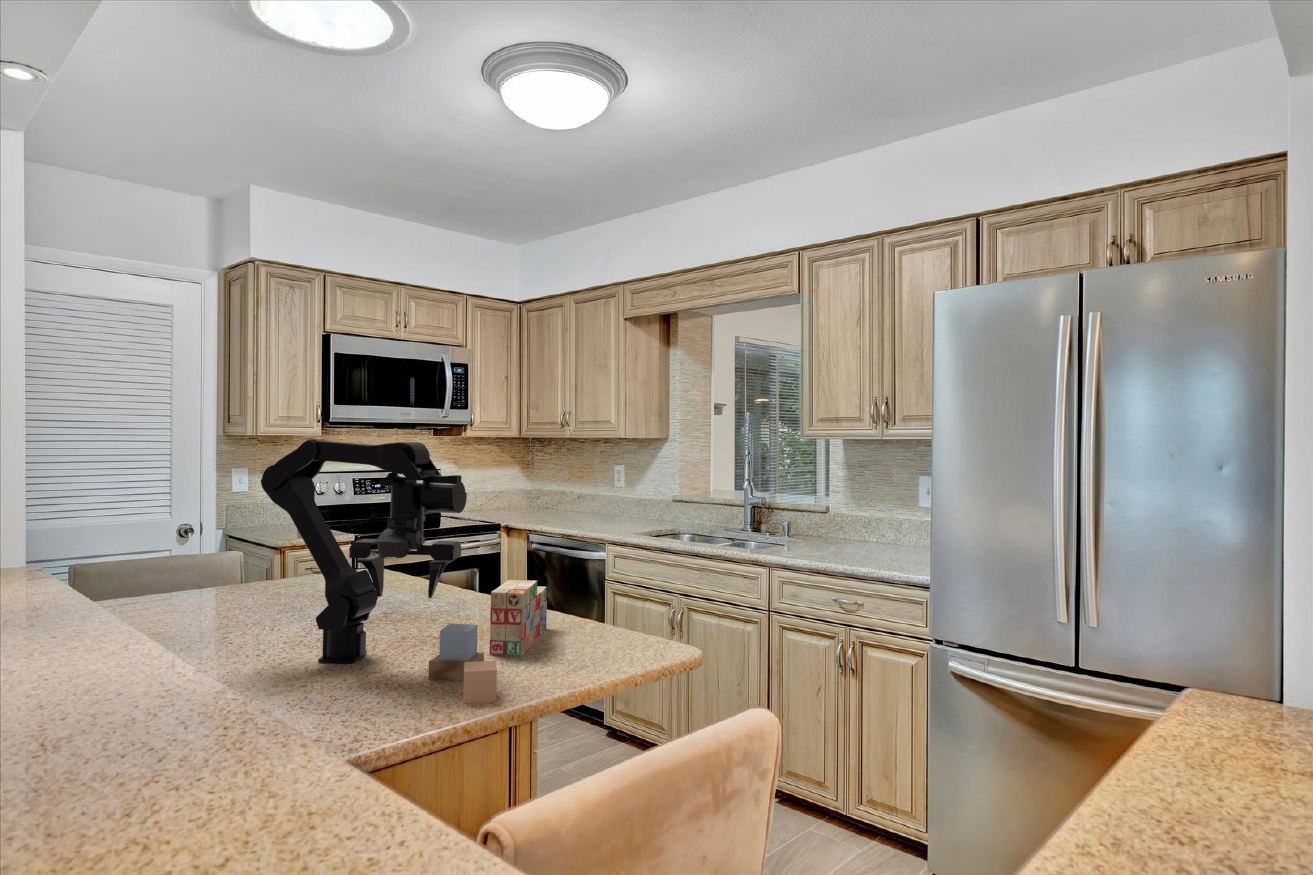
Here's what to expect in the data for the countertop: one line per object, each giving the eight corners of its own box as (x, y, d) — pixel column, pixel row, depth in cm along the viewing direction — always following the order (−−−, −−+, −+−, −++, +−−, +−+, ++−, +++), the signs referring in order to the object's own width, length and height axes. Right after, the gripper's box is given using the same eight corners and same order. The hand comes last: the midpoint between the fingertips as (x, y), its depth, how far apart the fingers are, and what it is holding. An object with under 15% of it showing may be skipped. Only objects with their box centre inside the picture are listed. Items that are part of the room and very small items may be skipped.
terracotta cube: (463, 703, 117) (464, 671, 117) (463, 692, 122) (464, 662, 122) (496, 701, 118) (496, 669, 118) (495, 691, 123) (495, 660, 123)
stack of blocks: (518, 627, 164) (519, 571, 164) (546, 629, 163) (548, 572, 163) (488, 655, 143) (490, 590, 143) (521, 657, 142) (522, 592, 142)
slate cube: (449, 651, 133) (449, 623, 133) (476, 652, 133) (477, 624, 133) (439, 659, 128) (440, 630, 128) (468, 661, 128) (468, 631, 128)
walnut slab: (428, 681, 128) (428, 660, 128) (446, 669, 134) (446, 649, 134) (467, 684, 126) (467, 663, 126) (483, 672, 133) (484, 652, 133)
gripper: (336, 514, 128) (334, 605, 128) (444, 516, 128) (442, 608, 128) (363, 508, 140) (361, 592, 139) (463, 510, 139) (461, 595, 139)
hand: (405, 597), depth 136 cm, fingers open, 9 cm apart
